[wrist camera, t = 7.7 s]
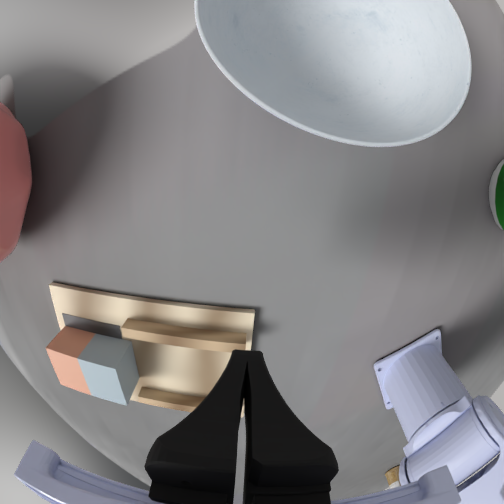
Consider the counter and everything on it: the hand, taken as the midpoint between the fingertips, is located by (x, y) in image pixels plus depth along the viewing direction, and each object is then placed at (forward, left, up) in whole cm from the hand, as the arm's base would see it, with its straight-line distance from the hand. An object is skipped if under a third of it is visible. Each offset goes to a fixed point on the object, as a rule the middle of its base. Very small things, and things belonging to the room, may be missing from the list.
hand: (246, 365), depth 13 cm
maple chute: (-3, +13, -9) cm, 16 cm away
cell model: (+20, +17, -10) cm, 28 cm away
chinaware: (+13, -13, -10) cm, 21 cm away
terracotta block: (+1, +19, -9) cm, 21 cm away
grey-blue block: (-1, +16, -9) cm, 18 cm away
